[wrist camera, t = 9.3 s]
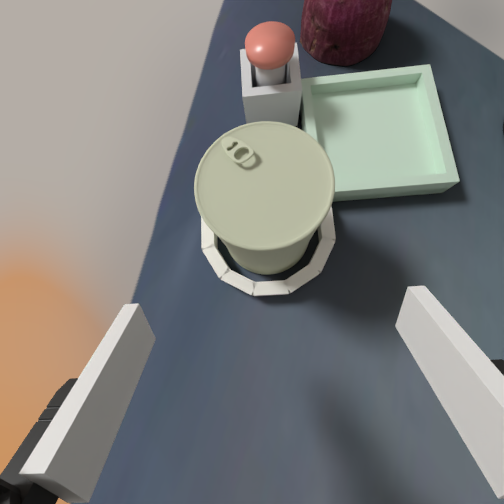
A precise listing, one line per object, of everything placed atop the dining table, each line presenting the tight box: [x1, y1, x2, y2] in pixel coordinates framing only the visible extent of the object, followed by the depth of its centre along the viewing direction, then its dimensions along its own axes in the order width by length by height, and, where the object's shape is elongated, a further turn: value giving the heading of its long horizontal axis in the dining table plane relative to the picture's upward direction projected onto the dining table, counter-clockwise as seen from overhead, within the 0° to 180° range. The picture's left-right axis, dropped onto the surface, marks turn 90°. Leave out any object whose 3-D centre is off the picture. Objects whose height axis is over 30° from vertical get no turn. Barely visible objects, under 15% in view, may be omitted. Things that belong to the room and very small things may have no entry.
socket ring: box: [201, 207, 336, 296], centre depth 26 cm, size 14×14×2 cm
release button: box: [245, 22, 295, 87], centre depth 26 cm, size 5×5×6 cm
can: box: [194, 121, 335, 275], centre depth 21 cm, size 9×9×12 cm
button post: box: [240, 43, 302, 126], centre depth 28 cm, size 6×6×5 cm
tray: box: [300, 64, 460, 202], centre depth 27 cm, size 14×14×2 cm
